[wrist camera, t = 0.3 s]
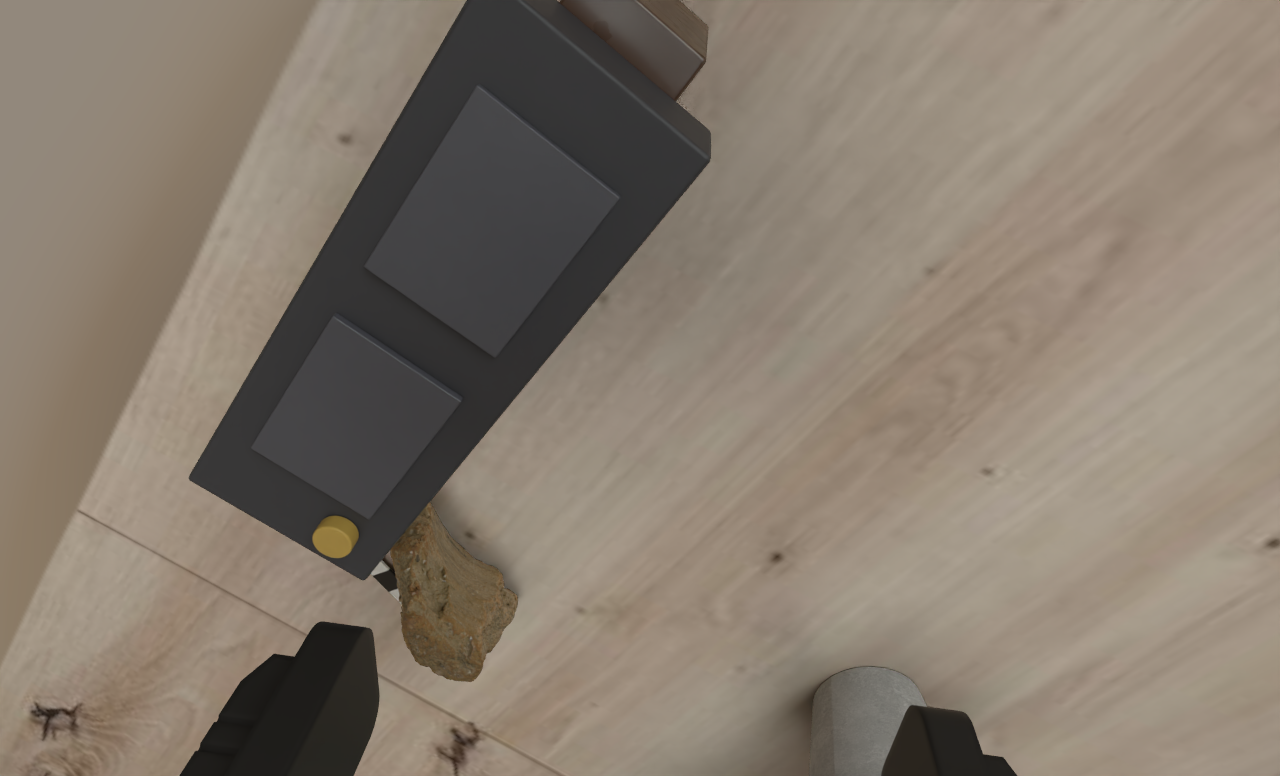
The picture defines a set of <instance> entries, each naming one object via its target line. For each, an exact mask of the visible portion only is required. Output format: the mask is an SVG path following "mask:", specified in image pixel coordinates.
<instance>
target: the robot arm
mask: <svg viewBox="0 0 1280 776" xmlns="http://www.w3.org/2000/svg"><path fill="white" fill-rule="evenodd" d="M378 707H379V685H378V675H377V666H376V656H375V647H374V637H373V632H372V630H371V629H370V628H366V627H359V626H351V625H344V624H337V623H329V622H319V623H317V624H316V625H315V626H314V627H313V628H312V629H311V631H310V632H309V634H308V635H307V637H306V639H305V640H304V642H303V644H302V646H301V647H300V649H299V651H298V652H297V654H296V656H295V657H293V656H285V655H278V654H273V655H272V656H271V657H270V658H268V659H267V660H266V661H265V662H264V663H262V664H261V665H260V666H259V667H257V668H256V669H255V670H254V671H253V672H251V673H250V674H249V675H248V676H247V677H245V678H244V679H243V680H242V681H241V682H240V683H239V685H238V686H237V688H236V690H235V691H234V693H233V694H232V696H231V697H230V699H229V700H228V702H227V703H226V705H225V706H224V708H223V709H222V711H221V713H220V714H219V718H218V721H217V722H214V723H213V725H212V726H211V728H210V729H209V731H208V733H207V734H206V736H205V737H204V739H203V740H202V742H201V743H200V748H199V750H198V751H195V752H194V754H193V756H192V757H191V759H190V760H189V762H188V763H187V765H186V766H185V768H184V769H183V771H182V772H181V774H180V776H354V773H355V771H356V769H357V767H358V764H359V762H360V760H361V757H362V755H363V753H364V751H365V748H366V746H367V744H368V742H369V739H370V737H371V734H372V731H373V728H374V725H375V721H376V717H377V712H378ZM881 776H1017V775H1016V774H1015V772H1014V771H1013V770H1012V768H1011V767H1010V766H1009V764H1008V763H1007V762H1006V760H1005V759H1004V758H1003V757H998V756H990V755H983V753H982V750H981V747H980V744H979V741H978V739H977V736H976V733H975V730H974V727H973V724H972V722H971V720H970V718H969V717H968V715H967V714H966V713H964V712H962V711H954V710H947V709H940V708H933V707H925V706H918V705H911V706H909V707H908V709H907V711H906V713H905V715H904V717H903V720H902V722H901V724H900V727H899V729H898V732H897V734H896V736H895V739H894V741H893V744H892V746H891V748H890V751H889V753H888V755H887V758H886V760H885V763H884V765H883V768H882V773H881Z"/></svg>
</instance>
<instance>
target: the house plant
mask: <svg viewBox="0 0 1280 776" xmlns="http://www.w3.org/2000/svg"><path fill="white" fill-rule="evenodd" d="M911 705H918V706H925V707H927V705H926V703H925V701H924V699H923V697H922V695H921V693H920V691H919V689H918V687H917V686H916V685H915V684H914V683H913V682H912V681H911V680H910V679H909V678H908V677H906V676H904V675H902V674H901V673H899V672H896V671H893V670H890V669H887V668H879V667H857V668H853V669H849V670H845V671H842V672H840V673H838V674H836V675H833V676H831V677H830V678H829V679H827V680H826V681H825V682H824V683H822V684H821V686H820V687H819V689H818V690H817V691H816V693H815V697H814V700H813V711H812V729H811V747H810V765H809V776H881V773H882V768H883V765H884V763H885V760H886V758H887V755H888V753H889V751H890V748H891V746H892V744H893V741H894V739H895V736H896V734H897V732H898V729H899V727H900V724H901V722H902V720H903V717H904V715H905V713H906V711H907V709H908V707H909V706H911Z"/></svg>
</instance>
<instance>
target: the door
mask: <svg viewBox="0 0 1280 776" xmlns="http://www.w3.org/2000/svg"><path fill="white" fill-rule="evenodd" d="M710 159H711V133H710V131H709V130H708V129H707V128H706V127H705V126H704V125H702V124H701V123H700V122H699V121H698V120H697V119H695V118H694V117H693V116H692V115H691V114H689V113H688V112H687V111H686V110H685V109H684V108H682V107H681V106H680V105H679V104H678V103H677V102H675V101H674V100H673V99H672V98H671V97H669V96H668V95H667V94H666V93H665V92H664V91H662V90H661V89H660V88H659V87H658V86H657V85H655V84H654V83H653V82H652V81H651V80H650V79H648V78H647V77H646V76H645V75H644V74H642V73H641V72H640V71H639V70H638V69H637V68H635V67H634V66H633V65H632V64H631V63H630V62H628V61H627V60H626V59H625V58H624V57H622V56H621V55H620V54H619V53H618V52H617V51H615V50H614V49H613V48H612V47H611V46H610V45H608V44H607V43H606V42H605V41H604V40H602V39H601V38H600V37H599V36H598V35H597V34H595V33H594V32H593V31H592V30H591V29H590V28H588V27H587V26H586V25H585V24H584V23H582V22H581V21H580V20H579V19H578V18H577V17H575V16H574V15H573V14H572V13H571V12H570V11H568V10H567V9H566V8H565V7H564V6H562V5H561V4H560V3H559V2H558V1H557V0H467V1H466V3H465V4H464V6H463V8H462V10H461V11H460V13H459V15H458V16H457V18H456V20H455V22H454V23H453V25H452V27H451V28H450V30H449V32H448V34H447V35H446V37H445V39H444V40H443V42H442V44H441V46H440V47H439V49H438V51H437V52H436V54H435V56H434V58H433V59H432V61H431V63H430V64H429V66H428V68H427V70H426V71H425V73H424V75H423V76H422V78H421V80H420V82H419V83H418V85H417V87H416V88H415V90H414V92H413V94H412V95H411V97H410V99H409V100H408V102H407V104H406V106H405V107H404V109H403V111H402V112H401V114H400V116H399V118H398V119H397V121H396V123H395V124H394V126H393V128H392V129H391V131H390V133H389V135H388V136H387V138H386V140H385V141H384V143H383V145H382V147H381V148H380V150H379V152H378V153H377V155H376V157H375V159H374V160H373V162H372V164H371V165H370V167H369V169H368V171H367V172H366V174H365V176H364V177H363V179H362V181H361V183H360V184H359V186H358V188H357V189H356V191H355V193H354V195H353V196H352V198H351V200H350V201H349V203H348V205H347V207H346V208H345V210H344V212H343V213H342V215H341V217H340V219H339V220H338V222H337V224H336V225H335V227H334V229H333V231H332V232H331V234H330V236H329V237H328V239H327V241H326V243H325V244H324V246H323V248H322V249H321V251H320V253H319V255H318V256H317V258H316V260H315V261H314V263H313V265H312V267H311V268H310V270H309V272H308V273H307V275H306V277H305V279H304V280H303V282H302V284H301V285H300V287H299V289H298V291H297V292H296V294H295V296H294V297H293V299H292V301H291V302H290V304H289V306H288V308H287V309H286V311H285V313H284V314H283V316H282V318H281V320H280V321H279V323H278V325H277V326H276V328H275V330H274V332H273V333H272V335H271V337H270V338H269V340H268V342H267V344H266V345H265V347H264V349H263V350H262V352H261V354H260V356H259V357H258V359H257V361H256V362H255V364H254V366H253V368H252V369H251V371H250V373H249V374H248V376H247V378H246V380H245V381H244V383H243V385H242V386H241V388H240V390H239V392H238V393H237V395H236V397H235V398H234V400H233V402H232V404H231V405H230V407H229V409H228V410H227V412H226V414H225V416H224V417H223V419H222V421H221V422H220V424H219V426H218V428H217V429H216V431H215V433H214V434H213V436H212V438H211V440H210V441H209V443H208V445H207V446H206V448H205V450H204V452H203V453H202V455H201V457H200V458H199V460H198V462H197V464H196V465H195V467H194V469H193V470H192V472H191V474H190V476H189V480H190V481H192V482H194V483H195V484H197V485H199V486H200V487H202V488H204V489H206V490H207V491H209V492H211V493H212V494H214V495H216V496H218V497H219V498H221V499H223V500H225V501H226V502H228V503H230V504H231V505H233V506H235V507H237V508H238V509H240V510H242V511H244V512H245V513H247V514H249V515H250V516H252V517H254V518H256V519H257V520H259V521H261V522H262V523H264V524H266V525H268V526H269V527H271V528H273V529H275V530H276V531H278V532H280V533H281V534H283V535H285V536H287V537H288V538H290V539H292V540H293V541H295V542H297V543H299V544H300V545H302V546H304V547H306V548H307V549H309V550H311V551H312V552H314V553H316V554H318V555H319V556H321V557H323V558H324V559H326V560H328V561H330V562H331V563H333V564H335V565H337V566H338V567H340V568H342V569H343V570H345V571H347V572H349V573H350V574H352V575H354V576H356V577H357V578H359V579H361V580H365V579H366V578H367V577H368V576H369V575H370V574H371V573H372V571H373V570H374V569H375V568H376V566H377V565H378V564H379V563H380V562H381V560H382V559H383V558H384V557H385V556H386V554H387V553H388V552H389V551H390V549H391V548H392V547H393V546H394V545H395V543H396V542H397V541H398V540H399V539H400V537H401V536H402V535H403V534H404V532H405V531H406V530H407V529H408V528H409V526H410V525H411V524H412V523H413V522H414V520H415V519H416V518H417V517H418V515H419V514H420V513H421V512H422V511H423V509H424V508H425V507H426V506H427V505H428V503H429V502H430V501H431V500H432V498H433V497H434V496H435V495H436V494H437V492H438V491H439V490H440V489H441V488H442V486H443V485H444V484H445V483H446V481H447V480H448V479H449V478H450V477H451V475H452V474H453V473H454V472H455V471H456V469H457V468H458V467H459V466H460V464H461V463H462V462H463V461H464V460H465V458H466V457H467V456H468V455H469V454H470V452H471V451H472V450H473V449H474V447H475V446H476V445H477V444H478V443H479V441H480V440H481V439H482V438H483V437H484V435H485V434H486V433H487V432H488V430H489V429H490V428H491V427H492V426H493V424H494V423H495V422H496V421H497V420H498V418H499V417H500V416H501V415H502V413H503V412H504V411H505V410H506V409H507V407H508V406H509V405H510V404H511V402H512V401H513V400H514V399H515V398H516V396H517V395H518V394H519V393H520V392H521V390H522V389H523V388H524V387H525V385H526V384H527V383H528V382H529V381H530V379H531V378H532V377H533V376H534V375H535V373H536V372H537V371H538V370H539V368H540V367H541V366H542V365H543V364H544V362H545V361H546V360H547V359H548V358H549V356H550V355H551V354H552V353H553V351H554V350H555V349H556V348H557V347H558V345H559V344H560V343H561V342H562V341H563V339H564V338H565V337H566V336H567V334H568V333H569V332H570V331H571V330H572V328H573V327H574V326H575V325H576V324H577V322H578V321H579V320H580V319H581V317H582V316H583V315H584V314H585V313H586V311H587V310H588V309H589V308H590V307H591V305H592V304H593V303H594V302H595V300H596V299H597V298H598V297H599V296H600V294H601V293H602V292H603V291H604V290H605V288H606V287H607V286H608V285H609V283H610V282H611V281H612V280H613V279H614V277H615V276H616V275H617V274H618V273H619V271H620V270H621V269H622V268H623V266H624V265H625V264H626V263H627V262H628V260H629V259H630V258H631V257H632V256H633V254H634V253H635V252H636V251H637V249H638V248H639V247H640V246H641V245H642V243H643V242H644V241H645V240H646V239H647V237H648V236H649V235H650V234H651V232H652V231H653V230H654V229H655V228H656V226H657V225H658V224H659V223H660V222H661V220H662V219H663V218H664V217H665V215H666V214H667V213H668V212H669V211H670V209H671V208H672V207H673V206H674V205H675V203H676V202H677V201H678V200H679V198H680V197H681V196H682V195H683V194H684V192H685V191H686V190H687V189H688V188H689V186H690V185H691V184H692V183H693V181H694V180H695V179H696V178H697V177H698V175H699V174H700V173H701V172H702V171H703V169H704V168H705V167H706V166H707V164H708V163H709V162H710Z"/></svg>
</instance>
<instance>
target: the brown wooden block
mask: <svg viewBox="0 0 1280 776" xmlns="http://www.w3.org/2000/svg"><path fill="white" fill-rule="evenodd" d="M559 3H560V4H561V5H562V6H564V7H565V8H566V9H567V10H568V11H570V12H571V13H572V14H573V15H574V16H575V17H577V18H578V19H579V20H580V21H581V22H582V23H584V24H585V25H586V26H587V27H588V28H590V29H591V30H592V31H593V32H594V33H595V34H597V35H598V36H599V37H600V38H601V39H602V40H604V41H605V42H606V43H607V44H608V45H610V46H611V47H612V48H613V49H614V50H615V51H617V52H618V53H619V54H620V55H621V56H622V57H624V58H625V59H626V60H627V61H628V62H630V63H631V64H632V65H633V66H634V67H635V68H637V69H638V70H639V71H640V72H641V73H642V74H644V75H645V76H646V77H647V78H648V79H650V80H651V81H652V82H653V83H654V84H655V85H657V86H658V87H659V88H660V89H661V90H662V91H664V92H665V93H666V94H667V95H668V96H669V97H671V98H672V99H673V100H674V101H675V102H676V101H677V99H678V98H679V97H680V95H681V94H682V93H683V92H684V90H685V89H686V88H687V86H688V85H689V84H690V82H691V81H692V80H693V78H694V77H695V76H696V75H697V73H698V72H699V71H700V69H701V68H702V67H703V65H704V64H705V62H706V53H707V40H708V26H707V25H706V24H705V23H704V22H703V21H702V20H700V19H699V18H698V17H697V16H696V15H695V14H694V13H693V12H691V11H690V10H689V9H688V8H687V7H686V6H685V5H684V4H683V3H681V2H680V1H679V0H561V1H560V2H559Z"/></svg>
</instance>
